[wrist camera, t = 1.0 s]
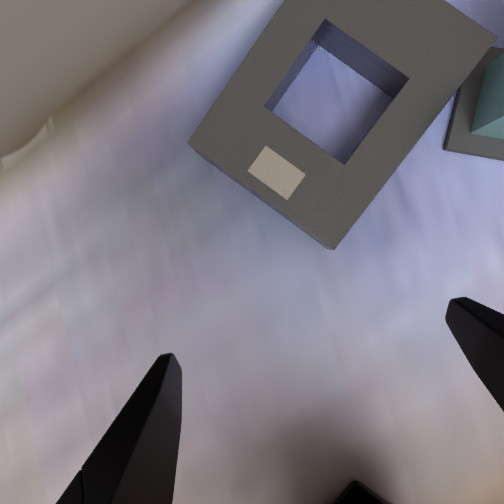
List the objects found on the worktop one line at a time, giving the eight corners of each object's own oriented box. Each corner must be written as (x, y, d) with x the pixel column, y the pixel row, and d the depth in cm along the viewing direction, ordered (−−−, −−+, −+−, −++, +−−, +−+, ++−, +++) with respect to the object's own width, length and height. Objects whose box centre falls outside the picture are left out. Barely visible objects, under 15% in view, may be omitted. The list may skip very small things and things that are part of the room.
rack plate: (469, 62, 20) (500, 35, 17) (326, 248, 21) (334, 250, 19) (328, -37, 20) (337, -79, 17) (197, 153, 22) (186, 141, 19)
